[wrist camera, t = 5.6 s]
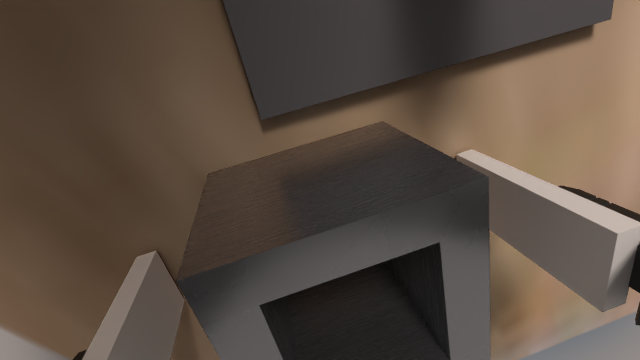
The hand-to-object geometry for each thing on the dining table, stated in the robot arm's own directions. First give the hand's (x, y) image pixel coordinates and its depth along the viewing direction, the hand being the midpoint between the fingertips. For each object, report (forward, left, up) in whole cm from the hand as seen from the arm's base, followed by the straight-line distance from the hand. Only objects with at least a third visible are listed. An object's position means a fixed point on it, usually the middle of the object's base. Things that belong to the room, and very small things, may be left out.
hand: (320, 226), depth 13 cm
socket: (0, 0, 0) cm, 0 cm away
